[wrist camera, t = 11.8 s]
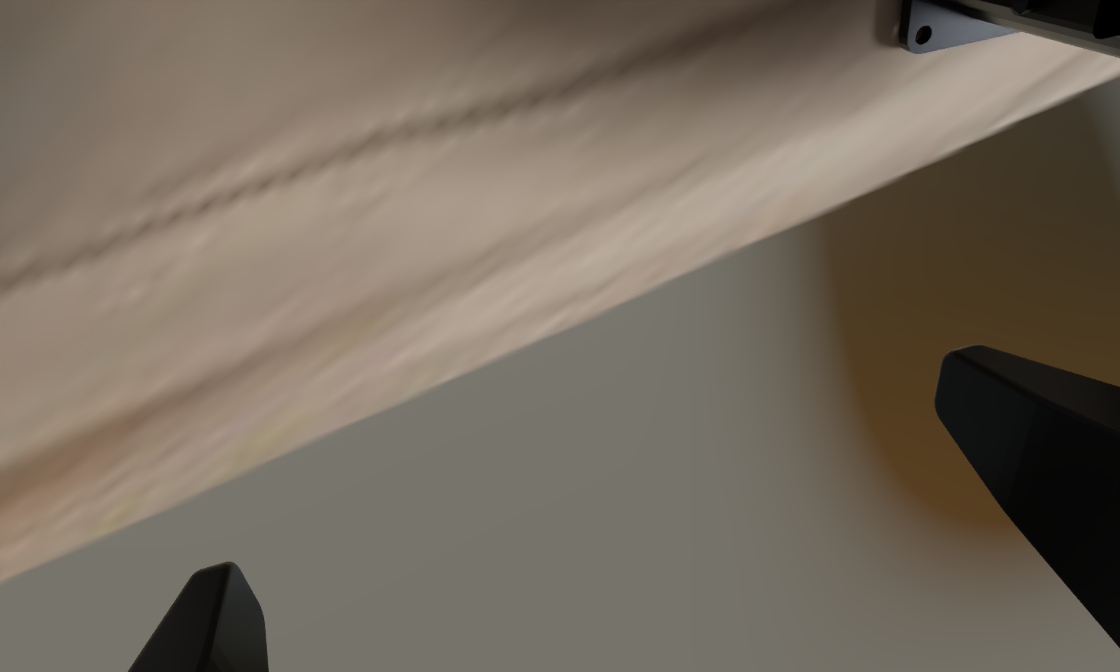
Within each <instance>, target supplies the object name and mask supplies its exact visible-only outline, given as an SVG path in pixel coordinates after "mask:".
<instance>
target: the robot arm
mask: <svg viewBox="0 0 1120 672" xmlns="http://www.w3.org/2000/svg"><path fill="white" fill-rule="evenodd" d="M921 27H922V30H923V31H922V34H921V36H920V37H919V38H918V40H916V39H915V36H916V33H917V31H918V30H919V29H920V28H921ZM1017 32H1025V33H1029V34H1032V35H1036V36H1040V37H1044V38H1047V39H1051V40H1055V41H1058V42H1062V43H1066V44H1070V45H1073V46H1077V47H1081V48H1084V49H1088V50H1092V51H1096V52H1099V53H1103V54H1107V55H1110V56H1114V57H1118V58H1120V0H903V2H902V10H901V19H900V27H899V44H900V46H901V48H903V49H905V50H906V51H909V52H912V53H915V54H922V53H927V52H931V51H936V50H940V49H945V48H949V47H954V46H958V45H963V44H967V43H972V42H977V41H981V40H986V39H990V38H995V37H999V36H1004V35H1008V34H1013V33H1017ZM934 403H935V409H936V413H937V415H938V417H939V419H940V420H941V422H942V424H943V425H944V426H945V428H946V429H947V431H948V432H949V434H950V435H951V437H952V438H953V439H954V441H955V442H956V443H957V445H958V447H959V448H960V450H961V451H962V452H963V454H964V455H965V457H966V458H967V460H968V461H969V462H970V464H971V465H972V467H973V468H974V470H975V471H976V472H977V474H978V476H979V477H980V478H981V480H982V481H983V483H984V484H985V486H986V487H987V488H988V490H989V491H990V493H991V494H992V496H993V497H994V498H995V500H996V501H997V503H998V504H999V505H1000V507H1001V508H1002V509H1003V511H1004V512H1005V513H1006V514H1007V516H1008V517H1009V518H1010V519H1011V521H1012V522H1013V523H1014V524H1015V526H1017V528H1018V529H1019V530H1020V532H1021V533H1022V534H1023V535H1024V536H1025V537H1026V538H1027V540H1028V541H1029V542H1030V543H1031V545H1032V546H1033V547H1034V548H1035V549H1036V550H1037V552H1038V553H1039V554H1040V555H1041V556H1042V557H1043V559H1044V560H1045V561H1046V562H1047V563H1048V564H1049V566H1050V567H1051V568H1052V569H1053V570H1054V571H1055V573H1056V574H1057V575H1058V576H1059V577H1060V579H1061V580H1062V581H1063V582H1064V583H1065V584H1066V586H1067V587H1068V588H1069V589H1070V590H1071V592H1072V593H1073V594H1074V595H1075V596H1076V597H1077V599H1078V600H1079V601H1080V602H1081V603H1082V604H1083V606H1084V607H1085V608H1086V609H1087V610H1088V611H1089V612H1090V614H1091V615H1092V616H1093V617H1094V618H1095V620H1096V621H1097V622H1098V623H1099V624H1100V626H1101V627H1102V628H1103V629H1104V630H1105V631H1106V632H1107V634H1108V635H1109V636H1110V637H1111V638H1112V640H1113V641H1114V642H1115V643H1116V644H1117V646H1118V647H1119V648H1120V387H1118V386H1115V385H1112V384H1108V383H1105V382H1102V381H1099V380H1095V379H1092V378H1089V377H1085V376H1082V375H1079V374H1075V373H1072V372H1069V371H1066V370H1062V369H1059V368H1055V367H1052V366H1049V365H1046V364H1043V363H1039V362H1036V361H1033V360H1029V359H1026V358H1023V357H1019V356H1016V355H1013V354H1010V353H1006V352H1003V351H999V350H996V349H993V348H990V347H987V346H983V345H979V344H973V345H968V346H965V347H962V348H958V349H955V350H951V351H949V352H947V353H946V354H945V356H944V357H943V358H942V362H941V366H940V372H939V377H938V382H937V387H936V392H935V398H934ZM128 672H269V668H268V656H267V643H266V630H265V621H264V616H263V613H262V609H261V606H260V604H259V602H258V600H257V599H256V597H255V595H254V594H253V591H252V590H251V588H250V586H249V585H248V582H247V581H246V579H245V577H244V575H243V573H242V572H241V570H240V568H239V567H238V566H237V565H236V564H235V563H233V562H224V563H221V564H217V565H214V566H211V567H207V568H204V569H200V570H199V571H197V572H195V573H194V574H193V575H192V576H191V578H190V579H189V581H188V582H187V583H186V585H185V586H184V588H183V589H182V591H181V593H180V594H179V595H178V597H177V598H176V600H175V602H174V603H173V604H172V606H171V607H170V609H169V611H168V612H167V614H166V615H165V616H164V618H163V620H162V621H161V622H160V624H159V625H158V627H157V629H156V630H155V632H154V633H153V634H152V636H151V638H150V639H149V641H148V642H147V643H146V645H145V647H144V648H143V649H142V651H141V653H140V654H139V655H138V657H137V658H136V660H135V661H134V663H133V664H132V666H131V668H130V669H129V670H128Z"/></svg>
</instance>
